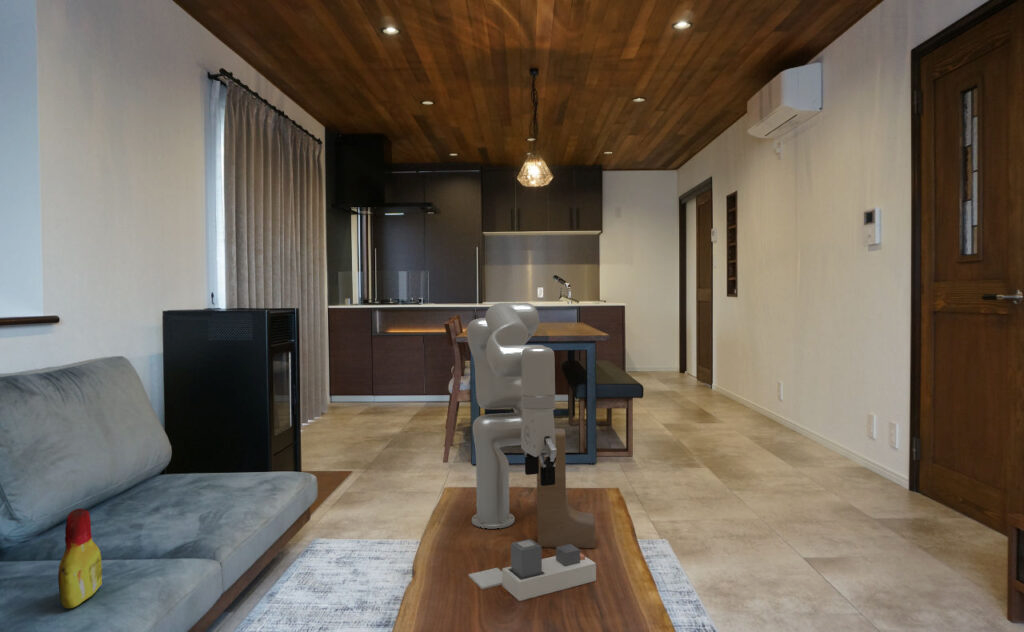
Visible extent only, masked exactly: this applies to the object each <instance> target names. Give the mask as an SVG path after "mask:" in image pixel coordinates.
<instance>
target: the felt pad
mask: <svg viewBox="0 0 1024 632" xmlns="http://www.w3.org/2000/svg"><path fill="white" fill-rule="evenodd" d="M468 577H469V579H470V580H471V581H473V582H474V584H476V586H478V587H479V589H481V590H485V589H489V588H493V587H496V586H497V587H498V586H503V581H502V569H500V568H499V567H495V568H490V569H486V570H482V571H478V572H476V571H475V572H472V573H469V574H468Z"/></svg>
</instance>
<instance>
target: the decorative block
mask: <svg viewBox="0 0 1024 632" xmlns="http://www.w3.org/2000/svg"><path fill="white" fill-rule="evenodd" d="M555 448H556V450H557V452H556V461H555V463H556V466H555V484H554V485H548V486H542V485H541V483H540V467H542V464H541V461H540V457H539V473H538V474H536V506H537V507H536V513H537V514H536V515H537V516H536V518H537V522H536V523H537V526H536V527H537V544H539V545H540V546H541V547H542V548H555V549H556V547H559V546H563V545H568V544H571V545H573V546H575V547H576V548H578V549H594V548H595V547H596V524H595V517H594V514H592V513H590V512H584V511H578V510H576V509H575V508H573V507H572V506H571V505H570V502H569V500H568V497H567V491H566V490H567V488H566V487H567V484H566V483H567V478H566V476H567V475H566V474H567V473H566V470H567V469H566V430H565V428H558V427H557V428H556V427H555ZM542 453H545V452H542ZM538 456H539V455H538ZM546 458H547V457H544V459H545V460H546Z"/></svg>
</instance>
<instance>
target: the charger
mask: <svg viewBox="0 0 1024 632" xmlns="http://www.w3.org/2000/svg"><path fill="white" fill-rule="evenodd" d="M542 548H543V547H541V546H540V545H539V544H538V542H536V541H534V540H533V539H531V538H528V539H523V540H518V541H514V542H511V543H510V567H511V572H512V573H513V574H514V575H515V576H517V577H518V578H519V579H520V580H523V579H527V578H531V577H535V576H539V575H542V559H543V558H542V555H543V554H542V551H543V550H542Z"/></svg>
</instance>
